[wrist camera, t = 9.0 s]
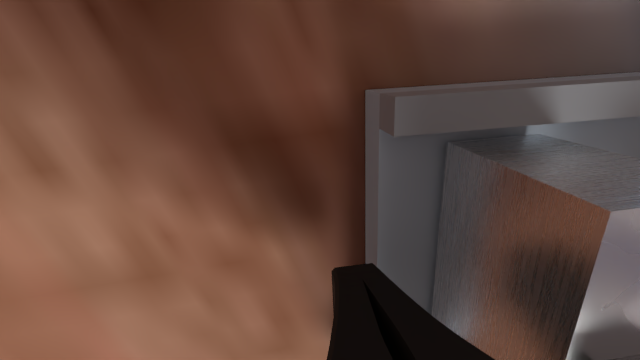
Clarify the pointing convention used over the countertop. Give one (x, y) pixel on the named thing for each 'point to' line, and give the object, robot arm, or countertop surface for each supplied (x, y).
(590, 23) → the countertop surface
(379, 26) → the countertop surface
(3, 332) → the countertop surface
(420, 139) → the base
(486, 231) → the sliding jaw
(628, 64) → the countertop surface
